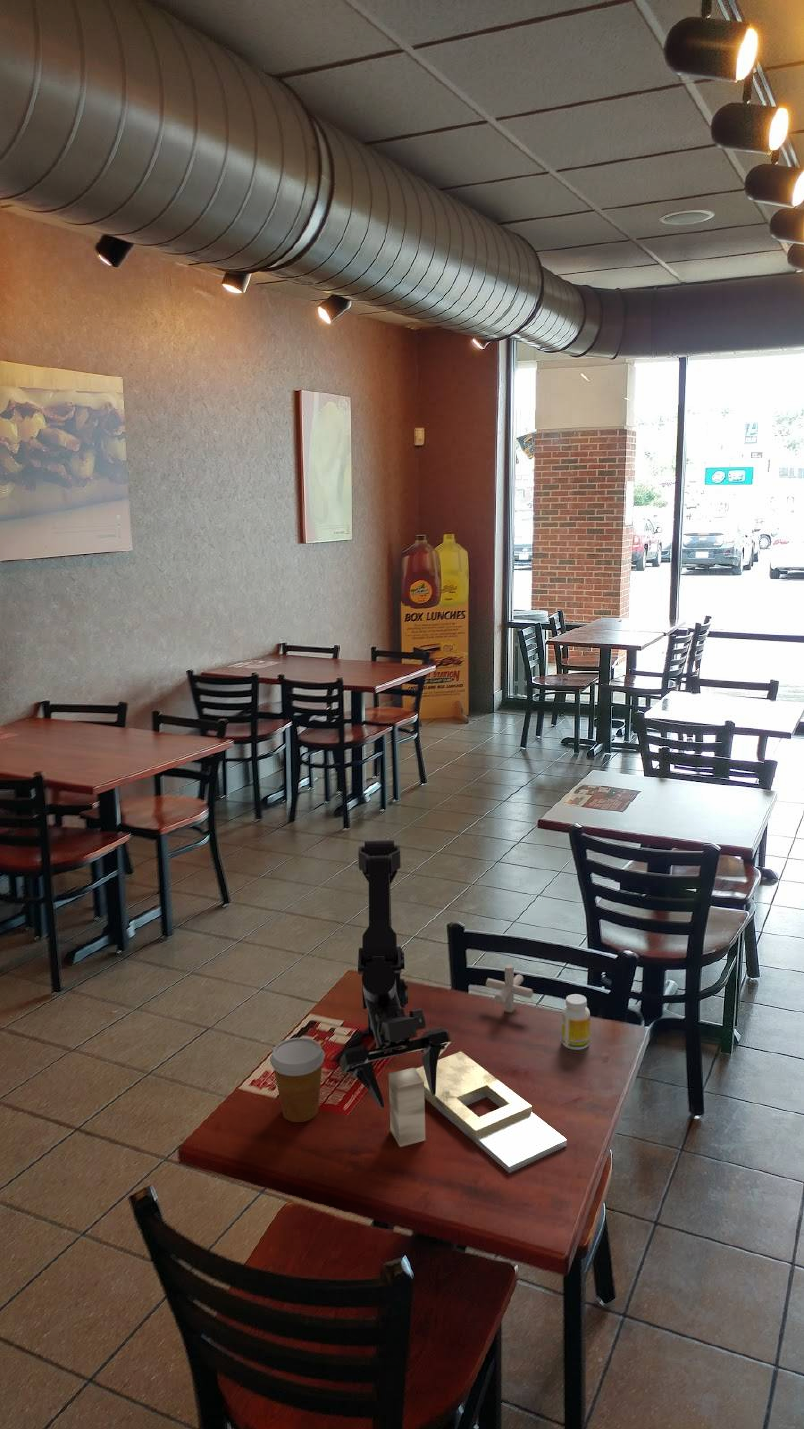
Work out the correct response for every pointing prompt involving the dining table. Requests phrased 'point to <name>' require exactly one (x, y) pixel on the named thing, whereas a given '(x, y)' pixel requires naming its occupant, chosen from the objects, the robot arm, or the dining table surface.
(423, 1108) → the maple pin
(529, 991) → the pipe connector
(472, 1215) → the dining table surface
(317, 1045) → the disposable coffee cup
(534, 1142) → the plate with square hole
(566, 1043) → the supplement bottle
